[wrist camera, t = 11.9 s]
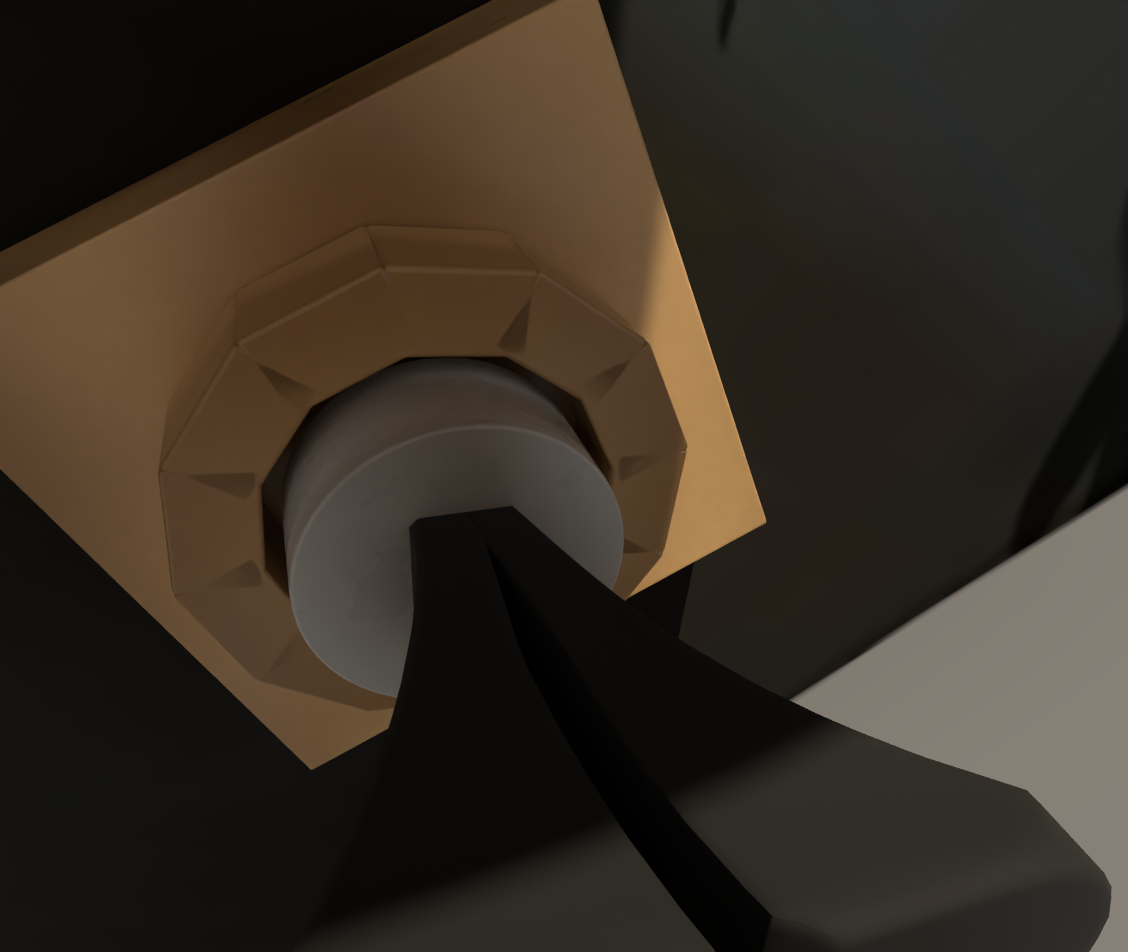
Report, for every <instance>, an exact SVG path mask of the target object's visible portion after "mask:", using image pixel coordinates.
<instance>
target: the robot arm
mask: <svg viewBox="0 0 1128 952" xmlns="http://www.w3.org/2000/svg"><path fill="white" fill-rule="evenodd" d="M409 534H410V552H411V570H412V589H413V607H414V612H413V622H412V629H411V635H410V640H409V645H408V650H407V655H406V660H405V665H404V670H403V675H402V680H401V684H400V688H399V692H398V696H397V700H396V704H395V707H394V711H393V714H392V718H391V721H390V724H389V728H388V731H387V734H386V738H385V741H384V744H383V747H382V750H381V753H380V756H379V759H378V761H377V764H376V767H375V770H374V773H373V775H372V778H371V781H370V784H369V787H368V790H367V792H366V795H365V797H364V800H363V803H362V805H361V808H360V810H359V813H358V815H357V818H356V820H355V823H354V825H353V827H352V829H351V832H350V834H349V836H348V838H347V840H346V843H345V845H344V847H343V849H342V852H341V854H340V856H339V858H338V860H337V863H336V865H335V867H334V869H333V872H332V874H331V876H330V878H329V880H328V883H327V885H326V887H325V889H324V891H323V894H322V896H321V898H320V900H319V902H318V904H317V906H316V908H315V910H314V912H313V914H312V916H311V918H310V920H309V921H308V923H307V925H306V927H305V929H304V931H303V933H302V934H301V936H300V938H299V940H298V942H297V944H296V946H295V947H294V949H293V951H292V952H1089V951H1090V950H1091V948H1092V946H1093V945H1094V943H1095V942H1096V940H1097V938H1098V937H1099V935H1100V933H1101V931H1102V929H1103V927H1104V925H1105V923H1106V921H1107V919H1108V917H1109V911H1110V902H1111V885H1110V883H1109V881H1108V880H1107V878H1106V876H1105V874H1104V872H1103V871H1102V870H1101V869H1100V868H1099V867H1098V866H1097V865H1096V864H1095V862H1094V861H1093V860H1092V859H1091V858H1090V857H1089V856H1088V855H1087V854H1086V853H1085V852H1084V851H1083V849H1081V847H1080V846H1079V845H1078V844H1077V843H1076V842H1075V841H1074V840H1073V839H1072V838H1071V837H1070V835H1069V834H1068V833H1067V832H1066V831H1065V830H1064V829H1063V828H1062V827H1061V826H1060V825H1059V823H1057V821H1056V820H1055V819H1054V818H1053V817H1052V816H1051V815H1050V814H1049V813H1048V812H1047V811H1046V810H1045V808H1044V807H1043V806H1042V805H1041V804H1040V803H1039V802H1038V801H1037V800H1036V799H1035V798H1034V797H1033V796H1032V795H1031V794H1030V793H1029V792H1028V791H1027V790H1024V789H1021V788H1018V787H1015V786H1012V785H1009V784H1006V783H1003V782H1000V781H996V780H993V779H990V778H987V777H984V776H981V775H978V774H975V773H972V772H969V771H966V770H962V769H959V768H956V767H953V766H950V765H947V764H944V763H941V762H938V761H935V760H932V759H928V758H925V757H923V756H920V755H917V754H914V753H912V752H909V751H906V750H904V749H901V748H899V747H896V746H894V745H891V744H889V743H886V742H883V741H881V740H878V739H876V738H873V737H871V736H868V735H866V734H863V733H861V732H858V731H856V730H853V729H851V728H849V727H846V726H844V725H842V724H839V723H837V722H835V721H832V720H830V719H828V718H825V717H823V716H821V715H819V714H816V713H814V712H812V711H810V710H808V709H806V708H804V707H802V706H800V705H798V704H796V703H794V702H792V701H790V700H788V699H785V698H783V697H781V696H779V695H777V694H775V693H773V692H771V691H769V690H767V689H765V688H763V687H761V686H759V685H757V684H756V683H754V682H752V681H750V680H748V679H746V678H744V677H742V676H741V675H739V674H737V673H735V672H734V671H732V670H730V669H728V668H727V667H725V666H723V665H722V664H720V663H718V662H716V661H715V660H713V659H711V658H710V657H708V656H706V655H705V654H703V653H701V652H699V651H698V650H696V649H694V648H693V647H691V646H690V645H688V644H686V643H685V642H683V641H682V640H680V639H679V638H677V637H676V636H674V635H672V634H671V633H669V632H668V631H667V630H665V629H664V628H662V627H661V626H659V625H658V624H657V623H655V622H654V621H652V620H651V619H649V618H648V617H647V616H645V615H644V614H642V613H641V612H639V611H638V610H637V609H635V608H634V607H632V606H631V605H630V604H628V603H627V602H626V601H624V600H623V599H622V598H621V597H619V596H618V595H617V594H616V593H614V592H613V591H612V590H611V589H609V588H608V587H607V586H606V585H604V584H603V583H602V582H601V581H599V580H598V579H597V578H596V577H594V576H593V575H592V574H591V573H589V572H588V571H587V570H586V569H584V568H583V567H582V566H581V565H580V564H579V563H577V562H576V561H575V560H574V559H573V558H572V557H570V556H569V555H568V554H567V553H566V552H565V551H563V550H562V549H561V548H560V547H559V546H558V545H556V544H555V543H554V542H553V541H552V540H551V539H550V538H549V537H547V536H546V535H545V534H544V533H543V532H542V531H541V530H540V529H538V528H537V527H536V526H535V525H534V524H533V523H532V522H531V521H529V520H528V519H527V518H526V517H525V516H524V515H522V514H521V513H520V512H519V511H518V510H517V509H515V508H514V507H513V506H507V507H499V508H492V509H485V510H477V511H470V512H463V513H455V514H448V515H441V516H433V517H426V518H419V519H417V520H416V521H415V522H414V523H413V524H412V525H411V526H410V527H409Z"/></svg>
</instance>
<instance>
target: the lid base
mask: <svg viewBox="0 0 1128 952" xmlns="http://www.w3.org/2000/svg"><path fill="white" fill-rule="evenodd" d="M442 357H450V358H467V359H473V360H478V361H484V362H488V363H491V364H494V365H497V366H500V367H503V368H506V369H508V370H510V371H512V372H514V373H516V374H519V375H521V376H523V377H524V378H526V379H527V380H528V381H530V382H531V383H533V384H534V385H536V386H537V387H538V388H539V389H541V390H542V391H543V392H544V393H545V394H546V395H547V396H548V397H549V398H550V399H551V400H552V401H553V403H554V404H555V405H556V406H557V408H558V409H559V410H560V411H561V413H562V414H563V416H564V417H565V419H566V420H567V422H568V423H569V425H570V426H571V428H572V429H573V431H574V432H575V434H576V435H577V436H578V438H579V439H580V441H581V442H582V444H583V445H584V447H585V448H586V450H587V451H588V453H589V454H590V456H591V457H592V459H593V460H594V462H595V463H596V465H597V466H598V468H599V469H600V471H601V472H602V473H603V475H604V476H605V478H606V480H607V481H608V483H609V485H610V487H611V488H612V490H613V492H614V494H615V497H616V499H617V502H618V505H619V508H620V511H621V516H622V522H623V534H624V546H623V554H622V562H621V565H620V569H619V573H618V576H617V579H616V582H615V584H614V587H613V589H612V591H613V592H614V593H616V594H617V595H618V596H619V597H621V598H622V599H623V600H624V601H626V599H627V598H629V597H631V596H633V595H634V594H636V593H638V592H640V591H642V590H644V589H645V588H647V587H649V586H651V585H653V584H655V583H656V582H658V581H660V580H662V579H664V578H666V577H667V576H669V575H671V574H673V573H675V572H677V571H678V570H680V569H682V568H684V567H686V566H688V565H690V564H691V563H693V562H695V561H697V560H699V559H701V558H702V557H704V556H706V555H708V554H710V553H712V552H713V551H715V550H717V549H719V548H721V547H723V546H724V545H726V544H728V543H730V542H732V541H734V540H735V539H737V538H739V537H741V536H743V535H745V534H746V533H748V532H750V531H752V530H754V529H756V528H758V527H759V526H761V525H763V524H765V523H766V519H765V516H764V512H763V509H762V506H761V503H760V500H759V497H758V494H757V491H756V488H755V485H754V481H753V478H752V475H751V472H750V469H749V466H748V463H747V460H746V457H745V454H744V450H743V447H742V444H741V441H740V438H739V435H738V432H737V429H736V426H735V423H734V420H733V416H732V413H731V410H730V407H729V404H728V401H727V398H726V395H725V392H724V389H723V385H722V382H721V379H720V376H719V373H718V370H717V367H716V364H715V361H714V358H713V354H712V351H711V348H710V345H709V342H708V339H707V336H706V333H705V330H704V327H703V323H702V320H701V317H700V314H699V311H698V308H697V305H696V302H695V299H694V296H693V292H692V289H691V286H690V283H689V280H688V277H687V274H686V271H685V268H684V265H683V261H682V258H681V255H680V252H679V249H678V246H677V243H676V240H675V237H674V234H673V230H672V227H671V224H670V221H669V218H668V215H667V212H666V209H665V206H664V203H663V200H662V196H661V193H660V190H659V187H658V184H657V181H656V178H655V175H654V172H653V169H652V165H651V162H650V159H649V156H648V153H647V150H646V147H645V144H644V141H643V138H642V134H641V131H640V128H639V125H638V122H637V119H636V116H635V113H634V110H633V107H632V103H631V100H630V97H629V94H628V91H627V88H626V85H625V82H624V79H623V76H622V72H621V69H620V66H619V63H618V60H617V57H616V54H615V51H614V48H613V45H612V41H611V38H610V35H609V32H608V29H607V26H606V23H605V20H604V17H603V14H602V10H601V7H600V4H599V1H598V0H492V1H490V2H488V3H486V4H484V5H482V6H480V7H478V8H476V9H474V10H472V11H470V12H468V13H466V14H464V15H462V16H461V17H459V18H457V19H455V20H453V21H451V22H449V23H447V24H445V25H443V26H441V27H439V28H437V29H435V30H433V31H431V32H429V33H427V34H425V35H423V36H421V37H419V38H418V39H416V40H414V41H412V42H410V43H408V44H406V45H404V46H402V47H400V48H398V49H396V50H394V51H392V52H390V53H388V54H386V55H384V56H382V57H380V58H378V59H377V60H375V61H373V62H371V63H369V64H367V65H365V66H363V67H361V68H359V69H357V70H355V71H353V72H351V73H349V74H347V75H345V76H343V77H341V78H339V79H337V80H335V81H334V82H332V83H330V84H328V85H326V86H324V87H322V88H320V89H318V90H316V91H314V92H312V93H310V94H308V95H306V96H304V97H302V98H300V99H298V100H296V101H294V102H292V103H291V104H289V105H287V106H285V107H283V108H281V109H279V110H277V111H275V112H273V113H271V114H269V115H267V116H265V117H263V118H261V119H259V120H257V121H255V122H253V123H251V124H250V125H248V126H246V127H244V128H242V129H240V130H238V131H236V132H234V133H232V134H230V135H228V136H226V137H224V138H222V139H220V140H218V141H216V142H214V143H212V144H210V145H208V146H207V147H205V148H203V149H201V150H199V151H197V152H195V153H193V154H191V155H189V156H187V157H185V158H183V159H181V160H179V161H177V162H175V163H173V164H171V165H169V166H167V167H166V168H164V169H162V170H160V171H158V172H156V173H154V174H152V175H150V176H148V177H146V178H144V179H142V180H140V181H138V182H136V183H134V184H132V185H130V186H128V187H126V188H124V189H123V190H121V191H119V192H117V193H115V194H113V195H111V196H109V197H107V198H105V199H103V200H101V201H99V202H97V203H95V204H93V205H91V206H89V207H87V208H85V209H83V210H82V211H80V212H78V213H76V214H74V215H72V216H70V217H68V218H66V219H64V220H62V221H60V222H58V223H56V224H54V225H52V226H50V227H48V228H46V229H44V230H42V231H40V232H39V233H37V234H35V235H33V236H31V237H29V238H27V239H25V240H23V241H21V242H19V243H17V244H15V245H13V246H11V247H9V248H7V249H5V250H3V251H1V252H0V469H1V470H2V471H3V472H4V473H5V474H6V475H7V476H8V477H9V478H10V479H11V480H12V481H13V482H14V483H15V484H16V485H17V486H18V487H19V488H20V489H21V490H22V491H23V492H24V493H26V494H27V495H28V496H29V497H30V498H31V499H32V500H33V501H34V502H35V503H36V504H37V505H38V506H39V507H40V508H41V509H42V510H43V511H44V512H45V513H46V514H47V515H48V516H49V517H50V518H51V519H52V520H53V521H54V522H55V523H57V524H58V525H59V526H60V527H61V528H62V529H63V530H64V531H65V532H66V533H67V534H68V535H69V536H70V537H71V538H72V539H73V540H74V541H75V542H76V543H77V544H78V545H79V546H80V547H81V548H82V549H83V550H84V551H85V552H86V553H88V554H89V555H90V556H91V557H92V558H93V559H94V560H95V561H96V562H97V563H98V564H99V565H100V566H101V567H102V568H103V569H104V570H105V571H106V572H107V573H108V574H109V575H110V576H111V577H112V578H113V579H114V580H115V581H116V582H117V583H119V584H120V585H121V586H122V587H123V588H124V589H125V590H126V591H127V592H128V593H129V594H130V595H131V596H132V597H133V598H134V599H135V600H136V601H137V602H138V603H139V604H140V605H141V606H142V607H143V608H144V609H145V610H146V611H147V612H149V613H150V614H151V615H152V616H153V617H154V618H155V619H156V620H157V621H158V622H159V623H160V624H161V625H162V626H163V627H164V628H165V629H166V630H167V631H168V632H169V633H170V634H171V635H172V636H173V637H174V638H175V639H176V640H177V641H178V642H180V643H181V644H182V645H183V646H184V647H185V648H186V649H187V650H188V651H189V652H190V653H191V654H192V655H193V656H194V657H195V658H196V659H197V660H198V661H199V662H200V663H201V664H202V665H203V666H204V667H205V668H206V669H207V670H208V671H209V672H211V673H212V674H213V675H214V676H215V677H216V678H217V679H218V680H219V681H220V682H221V683H222V684H223V685H224V686H225V687H226V688H227V689H228V690H229V691H230V692H231V693H232V694H233V695H234V696H235V697H236V698H237V699H238V700H239V701H240V702H242V703H243V704H244V705H245V706H246V707H247V708H248V709H249V710H250V711H251V712H252V713H253V714H254V715H255V716H256V717H257V718H258V719H259V720H260V721H261V722H262V723H263V724H264V725H265V726H266V727H267V728H268V729H269V730H270V731H271V732H273V733H274V734H275V735H276V736H277V737H278V738H279V739H280V740H281V741H282V742H283V743H284V744H285V745H286V746H287V747H288V748H289V749H290V750H291V751H292V752H293V753H294V754H295V755H296V756H297V757H298V758H299V759H300V760H301V761H302V762H304V763H305V764H306V765H307V766H308V767H309V768H310V769H311V770H312V769H315V768H316V767H318V766H320V765H322V764H324V763H326V762H328V761H329V760H331V759H333V758H335V757H337V756H339V755H340V754H342V753H344V752H346V751H348V750H350V749H351V748H353V747H355V746H357V745H359V744H361V743H362V742H364V741H366V740H368V739H370V738H372V737H373V736H375V735H377V734H379V733H381V732H383V731H384V730H386V729H388V728H389V724H390V721H391V718H392V714H393V711H394V707H395V704H396V700H397V698H396V697H391V696H387V695H383V694H378V693H375V692H373V691H370V690H367V689H364V688H361V687H359V686H357V685H355V684H353V683H351V682H349V681H347V680H346V679H344V678H342V677H341V676H339V675H338V674H337V673H335V672H334V671H332V670H331V669H329V668H328V667H327V666H326V665H325V664H324V663H323V662H322V661H321V660H320V659H319V658H318V657H317V656H316V655H315V654H314V652H313V651H312V650H311V648H310V647H309V646H308V644H307V643H306V642H305V641H304V639H303V637H302V635H301V633H300V631H299V629H298V627H297V625H296V622H295V619H294V615H293V612H292V609H291V603H290V595H289V586H288V575H287V563H286V551H285V539H284V527H283V516H282V485H283V480H284V475H285V470H286V467H287V464H288V461H289V459H290V456H291V453H292V451H293V449H294V447H295V445H296V443H297V442H298V440H299V438H300V436H301V434H302V433H303V431H304V430H305V429H306V427H307V426H308V425H309V423H310V422H311V421H312V419H313V418H314V417H315V416H316V415H317V414H318V413H319V412H320V411H321V410H322V409H323V408H324V407H325V406H326V405H327V404H328V403H329V402H330V401H331V400H332V399H334V398H335V397H336V396H337V395H339V394H340V393H341V392H342V391H344V390H345V389H346V388H348V387H350V386H352V385H354V384H356V383H358V382H359V381H361V380H363V379H365V378H367V377H369V376H371V375H373V374H375V373H377V372H378V371H380V370H383V369H385V368H388V367H392V366H395V365H398V364H401V363H405V362H410V361H415V360H420V359H427V358H442Z"/></svg>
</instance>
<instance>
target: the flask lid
mask: <svg viewBox="0 0 1128 952" xmlns="http://www.w3.org/2000/svg"><path fill="white" fill-rule="evenodd" d="M507 506H513V507H514V508H515V509H517V510H518V511H519V512H520V513H521V514H522V515H524V516H525V517H526V518H527V519H528V520H529V521H531V522H532V523H533V524H534V525H535V526H536V527H537V528H538V529H540V530H541V531H542V532H543V533H544V534H545V535H546V536H547V537H549V538H550V539H551V540H552V541H553V542H554V543H555V544H556V545H558V546H559V547H560V548H561V549H562V550H563V551H565V552H566V553H567V554H568V555H569V556H570V557H572V558H573V559H574V560H575V561H576V562H577V563H579V564H580V565H581V566H582V567H583V568H584V569H586V570H587V571H588V572H589V573H591V574H592V575H593V576H594V577H596V578H597V579H598V580H599V581H601V582H602V583H603V584H604V585H606V586H607V587H608V588H609V589H611V590H612V589H613V587H614V584H615V582H616V579H617V576H618V573H619V569H620V565H621V562H622V554H623V546H624V534H623V522H622V516H621V511H620V508H619V505H618V502H617V499H616V497H615V494H614V492H613V490H612V488H611V487H610V485H609V483H608V481H607V480H606V478H605V476H604V475H603V473H602V472H601V471H600V469H599V468H598V466H597V465H596V463H595V462H594V460H593V459H592V457H591V456H590V454H589V453H588V451H587V450H586V448H585V447H584V445H583V444H582V442H581V441H580V439H579V438H578V436H577V435H576V434H575V432H574V431H573V429H572V428H571V426H570V425H569V423H568V422H567V420H566V419H565V417H564V416H563V414H562V413H561V411H560V410H559V409H558V408H557V406H556V405H555V404H554V403H553V401H552V400H551V399H550V398H549V397H548V396H547V395H546V394H545V393H544V392H543V391H542V390H541V389H539V388H538V387H537V386H536V385H534V384H533V383H531V382H530V381H528V380H527V379H526V378H524V377H523V376H521V375H519V374H516V373H514V372H512V371H510V370H508V369H506V368H503V367H500V366H497V365H494V364H491V363H488V362H484V361H478V360H473V359H467V358H450V357H442V358H427V359H420V360H415V361H410V362H405V363H401V364H398V365H395V366H392V367H388V368H385V369H383V370H380V371H378V372H377V373H375V374H373V375H371V376H369V377H367V378H365V379H363V380H361V381H359V382H358V383H356V384H354V385H352V386H350V387H348V388H346V389H345V390H344V391H342V392H341V393H340V394H339V395H337V396H336V397H335V398H334V399H332V400H331V401H330V402H329V403H328V404H327V405H326V406H325V407H324V408H323V409H322V410H321V411H320V412H319V413H318V414H317V415H316V416H315V417H314V418H313V419H312V421H311V422H310V423H309V425H308V426H307V427H306V429H305V430H304V431H303V433H302V434H301V436H300V438H299V440H298V442H297V443H296V445H295V447H294V449H293V451H292V453H291V456H290V459H289V461H288V464H287V467H286V470H285V475H284V480H283V485H282V516H283V527H284V539H285V551H286V563H287V575H288V586H289V595H290V603H291V609H292V612H293V615H294V619H295V622H296V625H297V627H298V629H299V631H300V633H301V635H302V637H303V639H304V641H305V642H306V643H307V644H308V646H309V647H310V648H311V650H312V651H313V652H314V654H315V655H316V656H317V657H318V658H319V659H320V660H321V661H322V662H323V663H324V664H325V665H326V666H327V667H328V668H329V669H331V670H332V671H334V672H335V673H337V674H338V675H339V676H341V677H342V678H344V679H346V680H347V681H349V682H351V683H353V684H355V685H357V686H359V687H361V688H364V689H367V690H370V691H373V692H375V693H378V694H383V695H387V696H391V697H396V698H397V696H398V692H399V688H400V684H401V680H402V675H403V670H404V665H405V660H406V655H407V650H408V645H409V640H410V635H411V629H412V622H413V612H414V607H413V589H412V570H411V552H410V534H409V527H410V526H411V525H412V524H413V523H414V522H415V521H416V520H417V519H419V518H426V517H433V516H441V515H448V514H455V513H463V512H470V511H477V510H485V509H492V508H499V507H507Z"/></svg>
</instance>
